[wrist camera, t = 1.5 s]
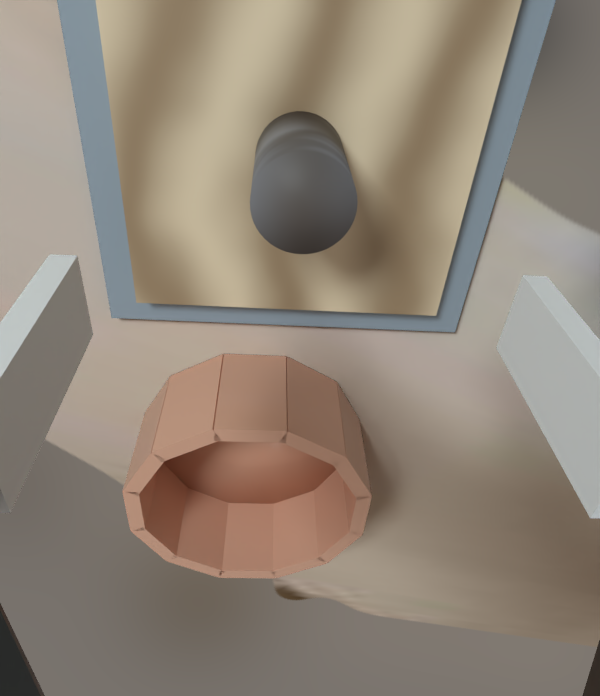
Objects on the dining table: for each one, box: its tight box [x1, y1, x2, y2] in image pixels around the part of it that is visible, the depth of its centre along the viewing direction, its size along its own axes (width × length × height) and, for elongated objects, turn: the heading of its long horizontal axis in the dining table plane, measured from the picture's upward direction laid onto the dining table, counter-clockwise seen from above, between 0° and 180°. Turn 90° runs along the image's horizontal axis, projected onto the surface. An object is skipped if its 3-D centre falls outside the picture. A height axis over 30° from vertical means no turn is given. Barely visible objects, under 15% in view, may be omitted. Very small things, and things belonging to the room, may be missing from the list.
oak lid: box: [96, 0, 522, 316], centre depth 25 cm, size 18×18×7 cm
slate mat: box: [57, 0, 556, 332], centre depth 28 cm, size 22×22×1 cm
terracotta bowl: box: [123, 354, 372, 578], centre depth 38 cm, size 16×16×7 cm
